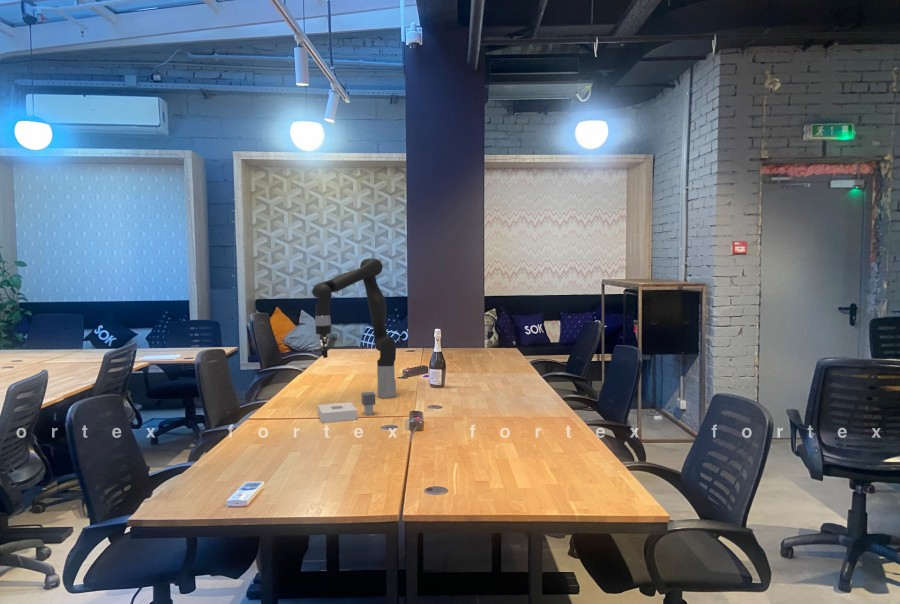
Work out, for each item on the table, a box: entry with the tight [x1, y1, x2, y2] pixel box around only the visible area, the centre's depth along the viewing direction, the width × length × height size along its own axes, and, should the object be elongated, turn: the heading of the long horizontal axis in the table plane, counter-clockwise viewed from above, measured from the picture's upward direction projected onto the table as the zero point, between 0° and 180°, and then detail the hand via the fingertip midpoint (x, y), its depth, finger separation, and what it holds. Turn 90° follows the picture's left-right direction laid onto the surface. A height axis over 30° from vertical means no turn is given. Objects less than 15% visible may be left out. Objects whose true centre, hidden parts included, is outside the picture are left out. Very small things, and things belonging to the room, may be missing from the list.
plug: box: [360, 391, 376, 416], centre depth 283 cm, size 6×6×10 cm
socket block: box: [317, 401, 358, 424], centre depth 278 cm, size 16×16×4 cm
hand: (324, 356), depth 295 cm, fingers open, 8 cm apart
